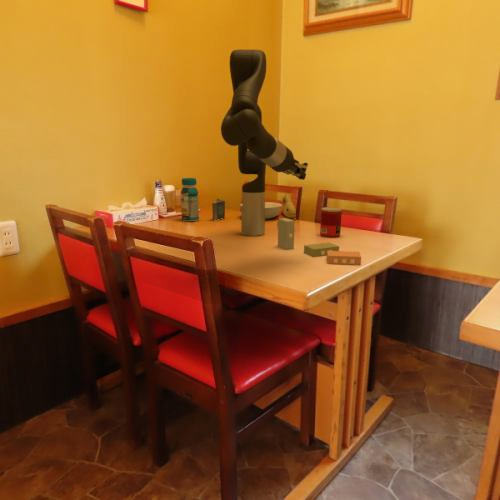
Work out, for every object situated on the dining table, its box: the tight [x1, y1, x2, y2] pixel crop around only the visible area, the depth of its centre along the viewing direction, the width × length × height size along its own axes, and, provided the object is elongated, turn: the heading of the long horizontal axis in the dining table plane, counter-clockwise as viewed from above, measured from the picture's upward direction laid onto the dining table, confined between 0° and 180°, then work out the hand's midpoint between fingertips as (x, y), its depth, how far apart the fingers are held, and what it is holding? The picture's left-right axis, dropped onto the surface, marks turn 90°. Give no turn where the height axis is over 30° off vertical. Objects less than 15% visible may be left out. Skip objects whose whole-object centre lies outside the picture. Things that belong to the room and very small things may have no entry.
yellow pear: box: [276, 193, 297, 227], centre depth 177 cm, size 7×11×15 cm, turn 30°
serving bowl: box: [239, 201, 283, 220], centre depth 203 cm, size 21×21×7 cm
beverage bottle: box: [180, 177, 200, 222], centre depth 195 cm, size 8×8×20 cm
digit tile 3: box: [326, 250, 362, 266], centre depth 129 cm, size 3×6×10 cm
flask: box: [212, 197, 226, 221], centre depth 198 cm, size 9×3×11 cm, turn 151°
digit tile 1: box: [277, 218, 296, 251], centre depth 146 cm, size 3×6×10 cm, turn 27°
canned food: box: [319, 206, 343, 239], centre depth 164 cm, size 8×8×11 cm
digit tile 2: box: [303, 242, 340, 258], centre depth 139 cm, size 3×6×10 cm
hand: (303, 176), depth 132 cm, fingers closed
